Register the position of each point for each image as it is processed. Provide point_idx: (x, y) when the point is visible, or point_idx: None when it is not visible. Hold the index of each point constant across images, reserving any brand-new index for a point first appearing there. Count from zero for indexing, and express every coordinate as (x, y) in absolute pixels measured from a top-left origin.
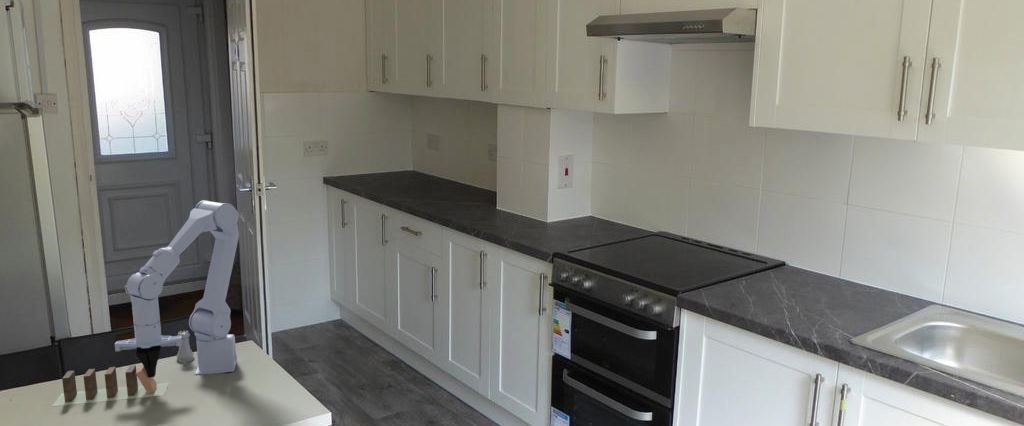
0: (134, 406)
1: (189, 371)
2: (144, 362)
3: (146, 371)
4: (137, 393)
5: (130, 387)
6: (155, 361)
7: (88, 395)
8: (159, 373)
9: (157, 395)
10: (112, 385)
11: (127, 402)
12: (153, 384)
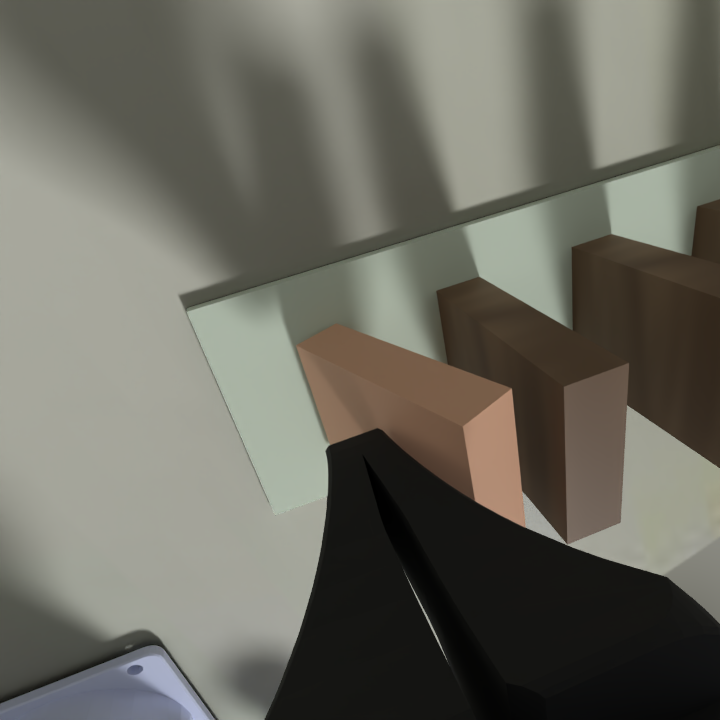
0: (349, 82)
1: (241, 668)
2: (474, 533)
3: (410, 458)
4: (425, 328)
5: (490, 309)
6: (317, 596)
7: None
8: None
9: (241, 304)
10: (646, 279)
11: (444, 177)
12: (336, 422)
